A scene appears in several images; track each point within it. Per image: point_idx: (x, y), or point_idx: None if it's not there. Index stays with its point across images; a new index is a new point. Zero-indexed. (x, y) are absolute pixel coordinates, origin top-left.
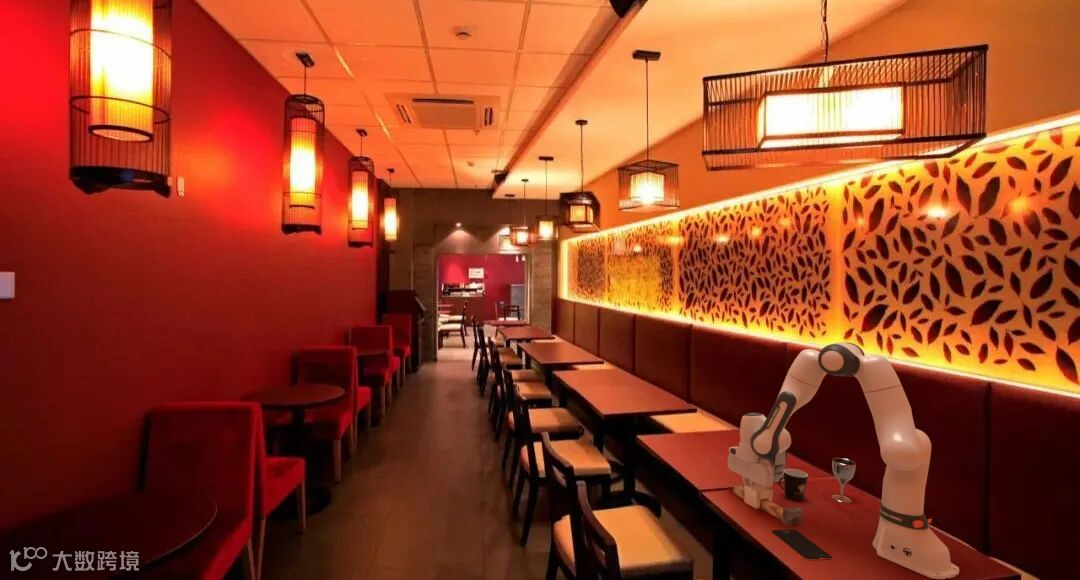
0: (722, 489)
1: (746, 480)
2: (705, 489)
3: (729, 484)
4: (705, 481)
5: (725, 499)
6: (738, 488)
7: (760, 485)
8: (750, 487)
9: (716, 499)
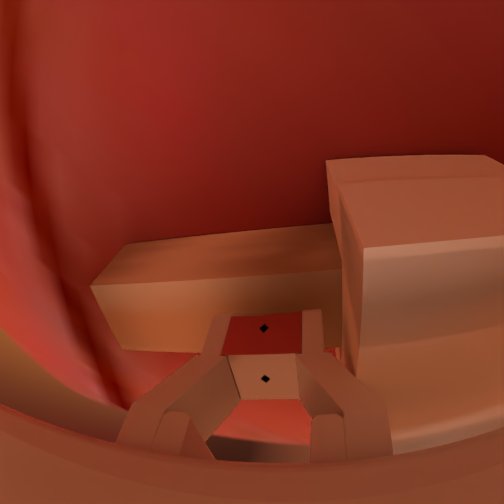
0: (91, 326)
1: (194, 414)
2: (113, 399)
3: (3, 222)
4: (12, 332)
5: (254, 401)
6: (179, 350)
7: (438, 316)
8: (404, 451)
9: (246, 430)
